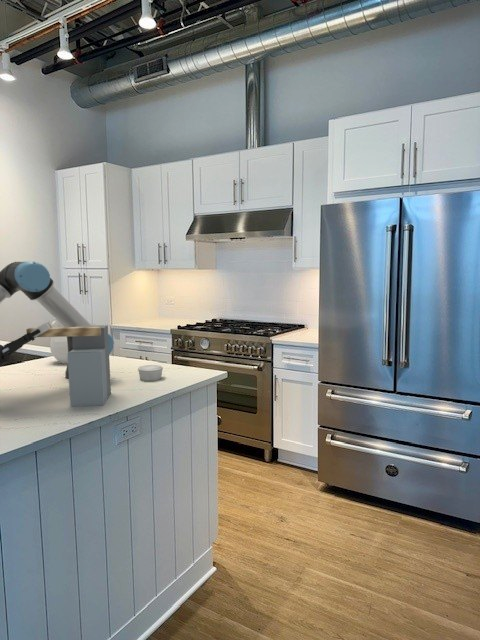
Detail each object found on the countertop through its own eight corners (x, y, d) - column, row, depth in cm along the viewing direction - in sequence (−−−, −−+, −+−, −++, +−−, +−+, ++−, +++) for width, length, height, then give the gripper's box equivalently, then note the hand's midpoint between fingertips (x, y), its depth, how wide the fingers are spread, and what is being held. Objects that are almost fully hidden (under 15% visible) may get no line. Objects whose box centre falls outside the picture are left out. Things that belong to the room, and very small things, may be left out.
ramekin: (157, 382, 205) (157, 370, 204) (134, 381, 207) (133, 369, 206) (166, 376, 216) (166, 365, 215) (144, 375, 218) (143, 364, 217)
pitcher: (79, 357, 263) (76, 313, 260) (93, 361, 249) (91, 316, 246) (45, 362, 250) (42, 316, 247) (59, 367, 237) (56, 319, 234)
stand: (70, 406, 171) (66, 331, 168) (80, 394, 187) (76, 325, 184) (103, 405, 172) (99, 330, 169) (111, 393, 188) (107, 325, 185)
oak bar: (26, 337, 169) (26, 329, 169) (29, 336, 172) (29, 328, 172) (99, 335, 171) (99, 327, 171) (101, 334, 174) (100, 326, 174)
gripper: (-22, 353, 162) (36, 318, 162) (-3, 345, 177) (50, 314, 178) (-10, 371, 163) (48, 336, 163) (8, 361, 179) (61, 330, 179)
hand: (49, 325), depth 171 cm, fingers closed on oak bar, 3 cm apart
